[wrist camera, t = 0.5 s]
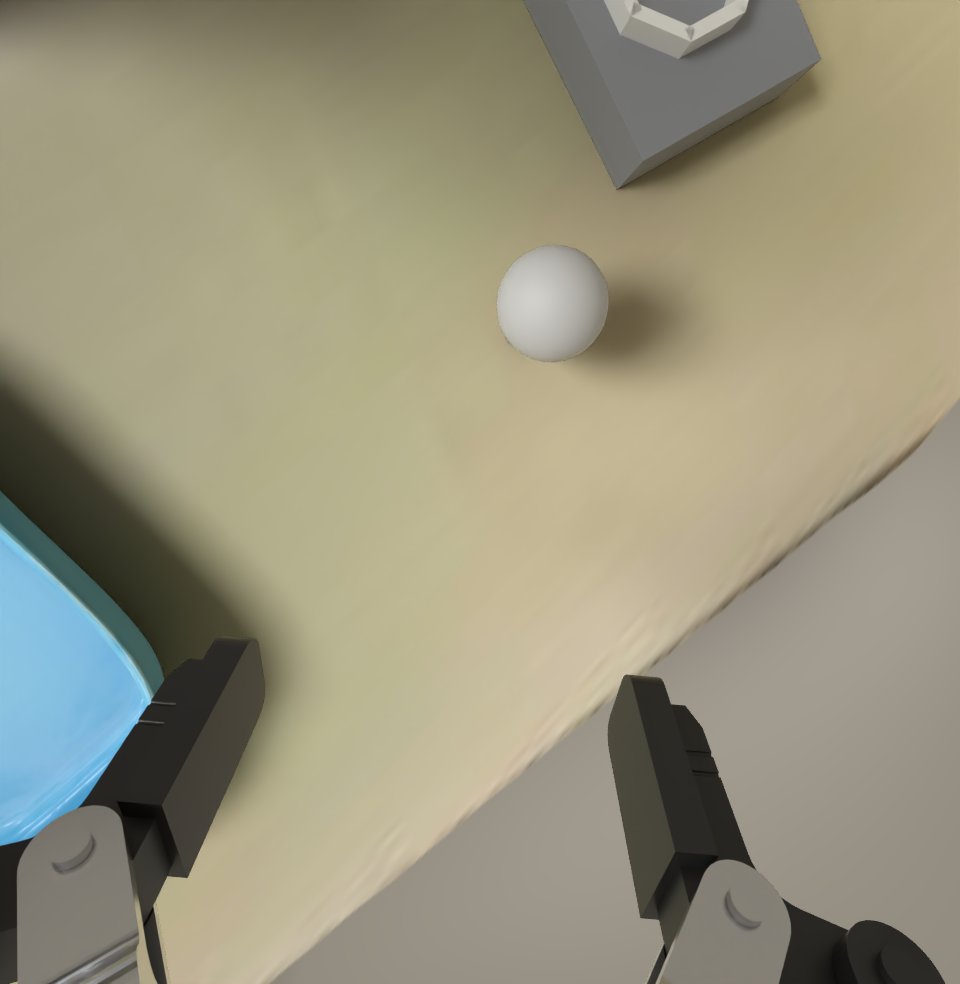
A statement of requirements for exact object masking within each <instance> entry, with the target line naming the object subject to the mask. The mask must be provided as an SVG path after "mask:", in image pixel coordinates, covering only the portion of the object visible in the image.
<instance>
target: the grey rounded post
mask: <svg viewBox="0 0 960 984" xmlns="http://www.w3.org/2000/svg"><path fill="white" fill-rule="evenodd" d="M608 306H609V295H608V288H607V284H606V281H605V278H604V276H603V274H602V272H601V271H600V269H599V267H598V266H597V265H596V264H595V262H594V261H593V260H592V259H591V258H589V257H588V256H587V255H586V254H585V253H583V252H581V251H579V250H577V249H575V248H571V247H568V246H562V245H548V246H542V247H539V248H536V249H533V250H531V251H529V252H527V253H526V254H524V255H523V256H521V257H520V258H519V259H517V260H516V261H515V262H514V263H513V264H512V266H511V267H510V268H509V270H508V271H507V273H506V274H505V276H504V278H503V280H502V282H501V285H500V287H499V291H498V296H497V313H498V319H499V324H500V326H501V329H502V332H503V333H504V335H505V337H506V339H507V341H508V342H509V343H510V344H511V345H512V346H513V347H514V348H515V349H516V350H518V351H519V352H520V353H522V354H523V355H525V356H527V357H529V358H531V359H534V360H538V361H542V362H559V361H565V360H567V359H570V358H572V357H575V356H577V355H579V354H580V353H582V352H583V351H585V350H586V349H587V348H588V347H589V346H590V345H591V344H592V343H593V342H594V341H595V339H596V338H597V336H598V335H599V334H600V332H601V330H602V328H603V326H604V324H605V321H606V317H607V313H608Z"/></svg>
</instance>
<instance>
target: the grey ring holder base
mask: <svg viewBox="0 0 960 984" xmlns="http://www.w3.org/2000/svg"><path fill="white" fill-rule="evenodd" d="M523 1H524V3H525V5H526V7H527V9H528V11H529V13H530V15H531V17H532V19H533V21H534V23H535V25H536V27H537V29H538V31H539V33H540V35H541V37H542V39H543V41H544V43H545V45H546V47H547V49H548V51H549V53H550V55H551V57H552V59H553V61H554V63H555V65H556V67H557V69H558V71H559V74H560V76H561V78H562V80H563V82H564V84H565V86H566V88H567V90H568V92H569V94H570V96H571V98H572V100H573V102H574V104H575V106H576V108H577V110H578V112H579V114H580V116H581V118H582V120H583V122H584V124H585V126H586V128H587V130H588V132H589V134H590V136H591V138H592V140H593V142H594V144H595V146H596V148H597V150H598V152H599V154H600V156H601V158H602V161H603V163H604V165H605V167H606V169H607V171H608V173H609V175H610V177H611V179H612V181H613V183H614V185H615V187H616V189H619V188H621V187H623V186H624V185H626V184H628V183H630V182H631V181H633V180H635V179H637V178H638V177H640V176H642V175H643V174H645V173H647V172H649V171H650V170H652V169H654V168H656V167H657V166H659V165H661V164H663V163H664V162H666V161H668V160H670V159H671V158H673V157H675V156H677V155H678V154H680V153H682V152H684V151H685V150H687V149H689V148H690V147H692V146H694V145H696V144H697V143H699V142H701V141H703V140H704V139H706V138H708V137H710V136H711V135H713V134H715V133H717V132H718V131H720V130H722V129H724V128H725V127H727V126H729V125H730V124H732V123H734V122H736V121H737V120H739V119H741V118H743V117H744V116H746V115H748V114H750V113H751V112H753V111H755V110H757V109H758V108H760V107H762V106H764V105H765V104H767V103H769V102H771V101H772V100H774V99H776V98H777V97H779V96H780V95H781V94H782V93H783V92H785V91H786V90H787V89H788V88H789V87H790V86H791V85H792V84H794V83H795V82H796V81H797V80H798V79H799V78H800V77H802V76H803V75H804V74H805V73H806V72H807V71H808V70H809V69H811V68H812V67H813V66H814V65H815V64H816V63H817V62H819V61H820V60H821V58H820V55H819V53H818V50H817V48H816V45H815V43H814V41H813V38H812V36H811V33H810V31H809V28H808V26H807V24H806V21H805V19H804V16H803V14H802V11H801V9H800V7H799V4H798V2H797V0H523Z"/></svg>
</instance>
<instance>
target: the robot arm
mask: <svg viewBox="0 0 960 984" xmlns="http://www.w3.org/2000/svg"><path fill="white" fill-rule="evenodd" d="M264 696H265V683H264V676H263V670H262V663H261V657H260V650H259V644H258V641H257V640H256V639H250V638H239V637H228V636H219V637H218V638H217V639H216V640H215V641H214V642H213V644H212V646H211V647H210V649H209V650H208V652H207V654H206V655H205V657H204V659H203V660H195V659H188V660H187V661H186V662H184V663H183V664H182V665H181V666H180V667H178V668H177V669H176V670H175V671H173V672H172V673H171V674H170V675H169V676H167V677H166V678H165V680H164V681H163V683H162V684H161V686H160V687H159V689H158V690H157V692H156V693H155V695H154V697H153V698H152V700H151V704H150V705H148V706H147V707H146V709H145V710H144V712H143V713H142V715H141V716H140V718H139V721H138V723H137V724H135V725H134V727H133V728H132V730H131V731H130V733H129V734H128V736H127V737H126V739H125V740H124V742H123V743H122V745H121V746H120V748H119V749H118V751H117V752H116V754H115V755H114V757H113V759H112V760H111V762H110V763H109V765H108V766H107V768H106V769H105V771H104V772H103V774H102V775H101V777H100V778H99V780H98V781H97V783H96V784H95V786H94V787H93V789H92V790H91V792H90V793H89V795H88V796H87V797H86V799H85V800H84V801H83V803H82V804H81V805H80V806H79V807H78V808H77V809H75V810H72V811H69V812H67V813H65V814H63V815H61V816H60V817H58V818H57V819H55V820H53V821H52V822H51V823H49V824H48V825H47V826H46V827H44V828H43V829H42V830H41V831H40V832H39V833H38V834H37V835H36V836H34V837H32V838H29V839H26V840H22V841H19V842H14V843H10V844H6V845H1V846H0V984H10V983H13V982H17V981H18V984H171V981H170V976H169V970H168V965H167V959H166V954H165V949H164V943H163V938H162V932H161V927H160V921H159V916H158V910H157V905H156V899H157V897H158V895H159V893H160V890H161V888H162V886H163V884H164V882H165V880H166V878H167V876H171V877H183V878H188V876H189V873H190V871H191V869H192V867H193V864H194V862H195V860H196V858H197V855H198V853H199V851H200V849H201V846H202V844H203V842H204V840H205V837H206V835H207V833H208V831H209V828H210V826H211V824H212V822H213V819H214V817H215V815H216V812H217V810H218V808H219V806H220V803H221V801H222V799H223V797H224V794H225V792H226V790H227V788H228V785H229V783H230V781H231V779H232V776H233V774H234V772H235V770H236V767H237V765H238V763H239V761H240V758H241V756H242V754H243V752H244V749H245V747H246V745H247V743H248V740H249V738H250V736H251V734H252V731H253V729H254V727H255V725H256V722H257V720H258V718H259V715H260V713H261V710H262V706H263V702H264ZM608 746H609V752H610V758H611V763H612V768H613V773H614V779H615V784H616V789H617V795H618V800H619V805H620V811H621V816H622V821H623V827H624V832H625V837H626V843H627V848H628V854H629V859H630V864H631V869H632V875H633V880H634V886H635V891H636V897H637V902H638V907H639V912H640V918H645V919H657V920H659V921H660V926H661V930H662V935H663V940H664V942H663V943H662V945H661V948H660V950H659V952H658V954H657V957H656V959H655V961H654V963H653V966H652V968H651V970H650V973H649V975H648V977H647V980H646V982H645V984H945V982H944V980H943V979H942V977H941V975H940V973H939V972H938V970H937V969H936V967H935V966H934V964H933V963H932V961H931V960H930V959H929V958H928V957H927V955H926V954H925V953H924V952H923V951H922V950H921V949H920V948H919V947H918V946H917V945H916V944H915V943H914V942H913V941H912V940H910V939H909V938H908V937H907V936H905V935H904V934H903V933H901V932H900V931H898V930H896V929H895V928H893V927H891V926H889V925H886V924H884V923H881V922H877V921H870V920H865V921H861V922H858V923H856V924H855V925H854V926H853V927H852V928H851V929H850V930H846V929H844V928H842V927H839V926H837V925H835V924H832V923H830V922H828V921H826V920H823V919H821V918H819V917H816V916H814V915H812V914H810V913H807V912H805V911H803V910H800V909H799V908H797V907H795V906H793V905H791V904H790V903H788V902H787V901H785V900H784V899H783V898H781V896H780V895H779V893H778V892H777V891H776V889H775V888H774V887H773V885H772V884H771V883H770V882H769V881H768V880H767V879H766V878H765V877H764V876H763V875H762V874H760V873H759V872H758V871H757V870H756V869H755V867H754V865H753V864H752V862H751V860H750V857H749V855H748V852H747V849H746V847H745V844H744V841H743V838H742V836H741V833H740V830H739V827H738V825H737V822H736V819H735V817H734V814H733V811H732V808H731V805H730V803H729V800H728V797H727V794H726V792H725V789H724V786H723V783H722V780H721V778H719V776H718V773H719V772H718V770H717V767H716V764H715V761H714V759H713V757H711V750H710V747H709V745H708V742H707V739H706V736H705V734H704V731H703V728H702V727H701V725H700V724H699V723H698V722H697V720H696V719H695V718H694V716H693V715H692V714H691V713H690V711H689V710H688V709H687V708H686V706H683V705H671V703H670V700H669V697H668V694H667V691H666V688H665V685H664V682H663V681H662V679H660V678H658V677H647V676H636V675H625V676H624V677H623V679H622V682H621V685H620V688H619V691H618V694H617V697H616V700H615V703H614V706H613V709H612V712H611V715H610V719H609V724H608Z"/></svg>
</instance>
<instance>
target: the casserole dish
mask: <svg viewBox="0 0 960 984" xmlns="http://www.w3.org/2000/svg"><path fill="white" fill-rule="evenodd" d="M163 681H164V677H163V673H162V670H161V666H160V664H159V661H158V659H157V657H156V655H155V653H154V651H153V649H152V647H151V646H150V644H149V642H148V641H147V640H146V638H145V637H144V636H143V634H142V633H141V631H140V630H139V629H138V628H137V626H136V625H135V624H134V623H133V622H132V621H131V619H130V618H129V617H128V616H127V615H126V614H125V612H124V611H123V610H122V609H121V608H120V607H119V606H118V605H117V604H116V603H115V602H114V601H113V600H112V599H111V598H110V597H109V596H108V594H107V593H106V592H105V591H104V590H103V589H102V588H101V587H100V586H99V585H98V584H97V583H96V582H95V581H94V580H93V579H91V578H90V577H89V576H88V575H87V574H86V573H85V572H84V571H83V570H82V569H81V568H80V567H79V566H78V565H77V564H76V563H75V562H74V561H73V560H72V559H71V558H70V557H69V556H68V555H67V554H65V553H64V552H63V551H62V550H61V549H60V548H59V547H58V546H57V545H56V544H55V543H54V542H53V541H52V540H51V539H50V538H49V537H48V536H47V535H45V534H44V533H43V532H42V531H41V530H40V529H39V528H38V527H37V526H36V525H35V524H34V523H33V522H32V521H31V520H30V519H29V518H28V517H27V516H26V515H24V514H23V513H22V512H21V511H20V510H19V509H18V508H17V507H16V506H15V505H14V504H13V503H12V502H11V501H10V500H9V499H8V498H7V497H6V496H5V495H4V494H3V493H2V492H1V491H0V846H1V845H6V844H10V843H14V842H19V841H22V840H26V839H29V838H32V837H34V836H36V835H37V834H38V833H39V832H40V831H41V830H42V829H43V828H44V827H46V826H47V825H48V824H49V823H51V822H52V821H53V820H55V819H57V818H58V817H60V816H61V815H63V814H65V813H67V812H69V811H72V810H75V809H77V808H78V807H79V806H80V805H81V804H82V803H83V801H84V800H85V799H86V797H87V796H88V795H89V793H90V792H91V790H92V789H93V787H94V786H95V784H96V783H97V781H98V780H99V778H100V777H101V775H102V774H103V772H104V771H105V769H106V768H107V766H108V765H109V763H110V762H111V760H112V759H113V757H114V755H115V754H116V752H117V751H118V749H119V748H120V746H121V745H122V743H123V742H124V740H125V739H126V737H127V736H128V734H129V733H130V731H131V730H132V728H133V727H134V725H135V724H137V723H138V721H139V718H140V716H141V715H142V713H143V712H144V710H145V709H146V707H147V706H148V705H150V704H151V700H152V698H153V697H154V695H155V693H156V692H157V690H158V689H159V687H160V686H161V684H162V683H163Z"/></svg>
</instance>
